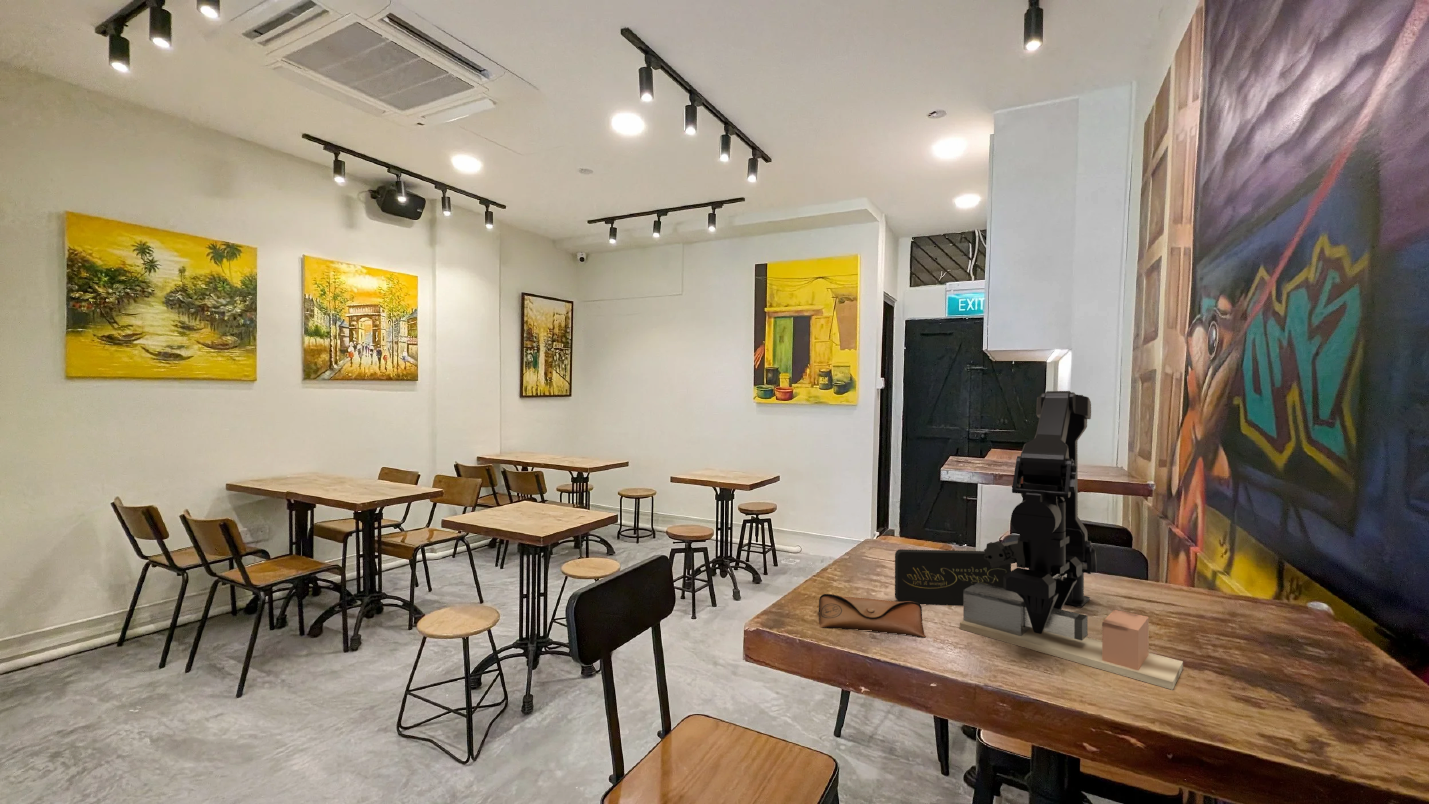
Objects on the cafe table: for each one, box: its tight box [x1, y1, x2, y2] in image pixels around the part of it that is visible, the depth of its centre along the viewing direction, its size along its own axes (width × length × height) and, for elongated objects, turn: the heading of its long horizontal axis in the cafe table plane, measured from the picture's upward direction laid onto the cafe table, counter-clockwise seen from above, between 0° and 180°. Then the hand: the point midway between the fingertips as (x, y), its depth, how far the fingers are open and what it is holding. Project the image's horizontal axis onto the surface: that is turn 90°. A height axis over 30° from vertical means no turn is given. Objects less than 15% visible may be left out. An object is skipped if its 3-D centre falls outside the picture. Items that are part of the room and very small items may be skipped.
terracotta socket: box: [1101, 609, 1150, 670], centre depth 82 cm, size 7×4×6 cm, turn 134°
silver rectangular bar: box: [1023, 605, 1088, 641], centre depth 92 cm, size 3×17×3 cm, turn 44°
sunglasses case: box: [818, 593, 927, 638], centre depth 97 cm, size 18×7×7 cm
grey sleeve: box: [962, 583, 1031, 636], centre depth 94 cm, size 6×9×5 cm, turn 44°
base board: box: [959, 620, 1184, 691], centre depth 88 cm, size 9×28×1 cm, turn 44°
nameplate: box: [894, 548, 1012, 607], centre depth 107 cm, size 21×2×10 cm, turn 87°
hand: (1044, 627), depth 89 cm, fingers open, 6 cm apart
